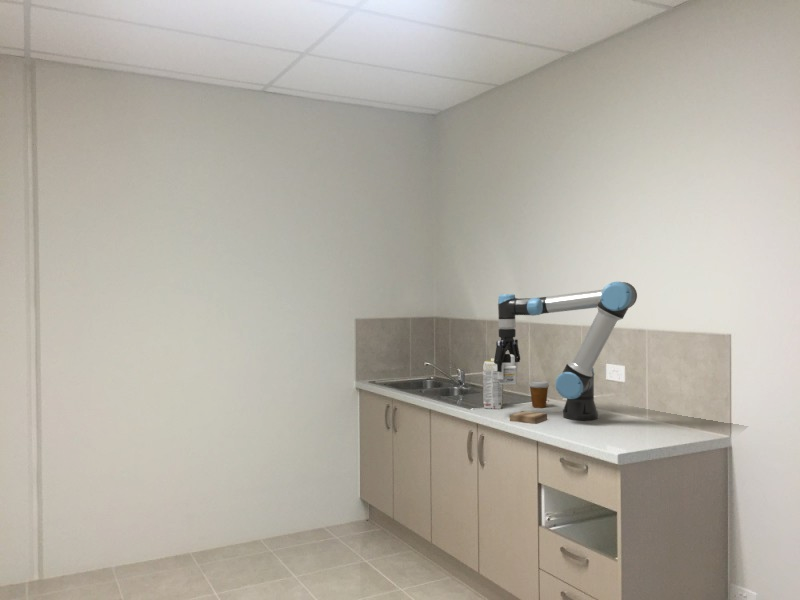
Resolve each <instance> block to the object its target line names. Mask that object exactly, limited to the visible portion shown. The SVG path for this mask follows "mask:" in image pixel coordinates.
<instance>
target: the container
mask: <svg viewBox="0 0 800 600" xmlns="http://www.w3.org/2000/svg"><path fill="white" fill-rule="evenodd" d="M502 364H504V379H499V384H503V385H517V377H516V365H514V364H515V356H514V355H513V354H510V353H505V357H504V360H503V363H502Z"/></svg>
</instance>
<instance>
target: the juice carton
mask: <svg viewBox="0 0 800 600" xmlns="http://www.w3.org/2000/svg"><path fill="white" fill-rule="evenodd" d="M494 358H495V357H493V358H490V360H487V359H486V360H484V361H483V365H482V366H483V367H482V403H483V407H484V409H485V408H492V409H491V410H501V409H502V407H503V404H504V384H499V379H498V371H497V364H495V363H494Z"/></svg>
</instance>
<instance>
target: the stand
mask: <svg viewBox="0 0 800 600" xmlns="http://www.w3.org/2000/svg"><path fill="white" fill-rule="evenodd" d="M547 420H548V413H544V412H543V413H542V412H534V411H525V410H522V411H521V410H520V411H518V412H515V413H512V414H509V421H510V422H519V423H525V424H535V425H536V424H538V423H542V422H544V421H547Z"/></svg>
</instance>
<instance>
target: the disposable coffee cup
mask: <svg viewBox="0 0 800 600" xmlns="http://www.w3.org/2000/svg"><path fill="white" fill-rule="evenodd" d="M549 386H550V384H549V382H548V381H540V380H539V381H538V380H536V381H530V382H529V389H530V396H531V397H530V398H531V404H532V408H536V409H545V408H546V407H547V400H548V391H549Z"/></svg>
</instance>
